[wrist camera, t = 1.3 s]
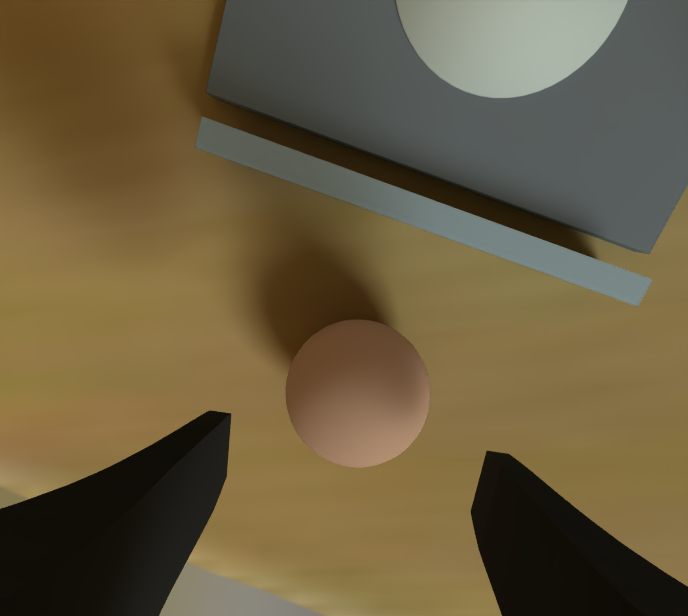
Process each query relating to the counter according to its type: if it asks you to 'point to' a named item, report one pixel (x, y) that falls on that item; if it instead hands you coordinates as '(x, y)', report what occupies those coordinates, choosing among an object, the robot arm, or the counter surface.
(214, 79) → the mat
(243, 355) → the counter surface
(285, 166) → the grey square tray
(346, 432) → the ball
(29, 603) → the robot arm
